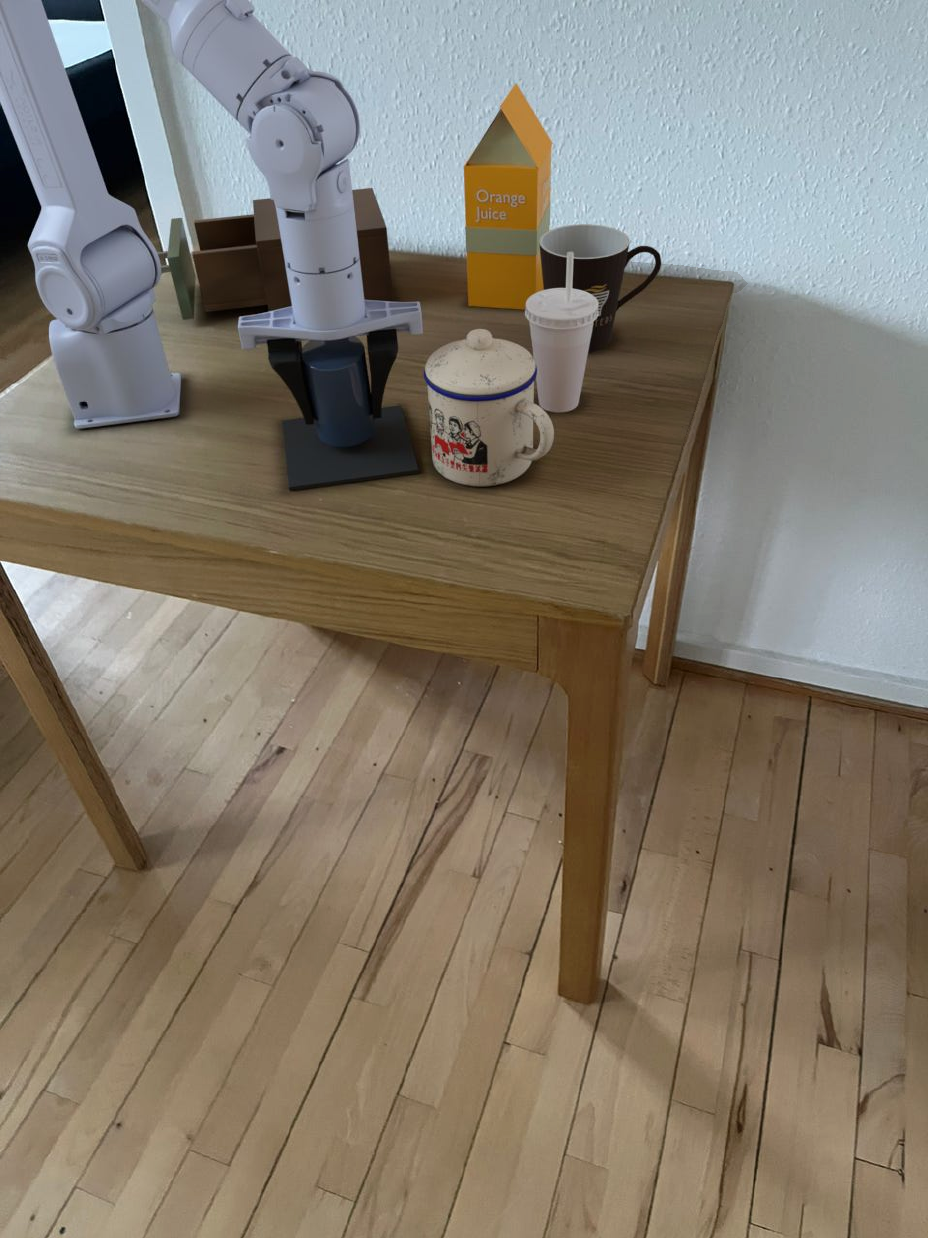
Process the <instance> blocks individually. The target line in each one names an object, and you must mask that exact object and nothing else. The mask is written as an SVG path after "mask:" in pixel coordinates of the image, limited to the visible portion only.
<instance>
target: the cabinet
mask: <svg viewBox="0 0 928 1238" xmlns="http://www.w3.org/2000/svg"><path fill="white" fill-rule="evenodd" d="M352 194H353V202H354V212H355V221H356V230H357V239H358V248H359V257H360V266H361V275H362V283H363V292H364V300H376V301H390V302H394V293H393V283H392V272H391V261H390V260H391V259H390V251H389V249H390V248H389V240H388V239H389V238H388V228H387V227H388V226H387V225H386V222H385V219H384V217H383V214H382V211H381V208H380V205H379V202H378V200H377V199H378V198H377V196H376V193H375V191H374V188H373V187H368V188H356V189H352ZM252 207H253V214H254V223H255V236H256V245H257V250H258V256H259V261H260V267H261V272H262V277H263V283H264V288H265V294H266V299H267V305H266V306H267V309H268V312H270V311H274V310H278V309H282V308H287V307H291V306H292V303H291V297H290V291H289V285H288V279H287V273H286V267H285V260H284V254H283V248H282V242H281V236H280V230H279V224H278V218H277V212H276V206H275V202H274V200H271V198H270V197H268V198H261V199H258V198H257V199H252Z"/></svg>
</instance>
